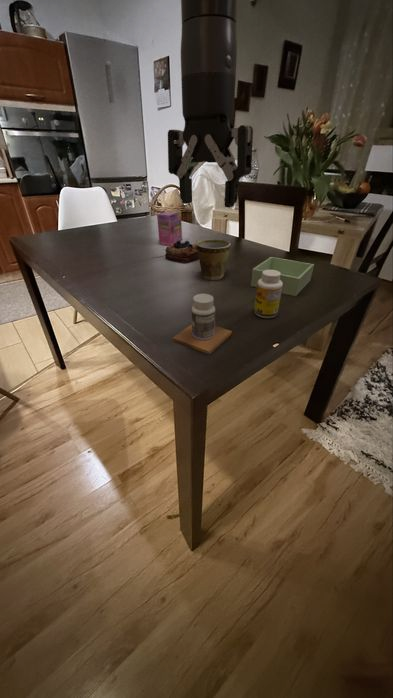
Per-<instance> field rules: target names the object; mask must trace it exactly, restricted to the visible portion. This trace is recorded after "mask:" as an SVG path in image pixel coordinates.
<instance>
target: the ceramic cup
mask: <svg viewBox="0 0 393 698" xmlns="http://www.w3.org/2000/svg"><path fill="white" fill-rule="evenodd" d="M195 244H196V245H197V252H198V256H199V259H198V260H199V265H200V273H201V276H202V278H203V279H205V280H208V281H219V280H221V279H222V278H224V276H225V273H226V267H227V263H228V260H229V259H228V258H229V255H230V251H231V242H230V241H229V240H225V239H219V238H208V239H207V238H206V239H201V240H199V241H197V242H196V243H195Z"/></svg>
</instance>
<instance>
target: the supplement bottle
mask: <svg viewBox="0 0 393 698" xmlns="http://www.w3.org/2000/svg"><path fill="white" fill-rule="evenodd" d="M280 275H281V273H280V272H279V271H276V270H264V271H263V272H262V278H261V279H259V280H258V283H257V287H256V290H255V291H256V292H255V302H254V310H253V311H254V314H255V315H256V316H257V317H258V318H263V319H273V318H275V317H276V316H277V315H278V313H279V308H280V302H281V297H282V293H281V292H282V286H283V283H282V281H281V280H280Z"/></svg>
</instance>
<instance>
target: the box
mask: <svg viewBox="0 0 393 698" xmlns="http://www.w3.org/2000/svg"><path fill="white" fill-rule="evenodd" d="M156 215H157V216H156V218H157V230H158V242H159V243H158V245H160V246H166V247H169V246H171V245H173V244H174V243H176V242H177V241H178V240H180V241H182V240H183V228H182V227H183V225H182V211H181V210H178V209H169V210H166V211H163V212H160V213H157V214H156Z"/></svg>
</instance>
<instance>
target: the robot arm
mask: <svg viewBox="0 0 393 698" xmlns="http://www.w3.org/2000/svg"><path fill="white" fill-rule="evenodd" d="M237 13H238V0H180V15H181V16H180V17H181V18H180V19H181V37H180V38H181V39H180V77H181V79H180V80H181V107H182V109H181V110H182V117H183V120H184V127H183V130H181V129H169V130H168V131H167V166H168V167H167V169H168V173H169V174H170V175H175V176H176V177H177V178H178V182H179V183H178V185H179V198H180V200H181V203H182V204H185V205H187V204H191V203H192V202H193V178H191V176H192V174H193V172H194V170H195V168H196V167H197V166H198V165H199V164H200V163H216V164H217V167H219V168H220V169H221V170H222V173H223V174H224V176H225V178H226V180H225V183H224V203H223V204H224V207H225V208H232V207H235V205H236V203H237V202H238V199H239V198H238V197H239V196H238V195H239V185H240V183H239V182H240V179H242V178H244V177H246V176H249V175H250V174H251V173H252V170H253V169H252V168H253V143H254V140H253V139H254V137H253V136H254V128H253V126H252V125H243V124H241V125H239V126H238V127H234V124H233V119H234V114H235V99H236V98H235V96H236V80H237V76H236V75H237V58H238V57H237V56H238V55H237V54H238V42H237V15H238V14H237ZM233 140H234V143H235V145H236V147H237V152H236V153H237V154H236V155H237V156H236V158H237V159H236V158H235V157H234V154H233V153H232V151H231V148H230V146H231V145H232V142H233ZM184 145H185V146H186V148H185V151H184V152H183V146H184Z"/></svg>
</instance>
